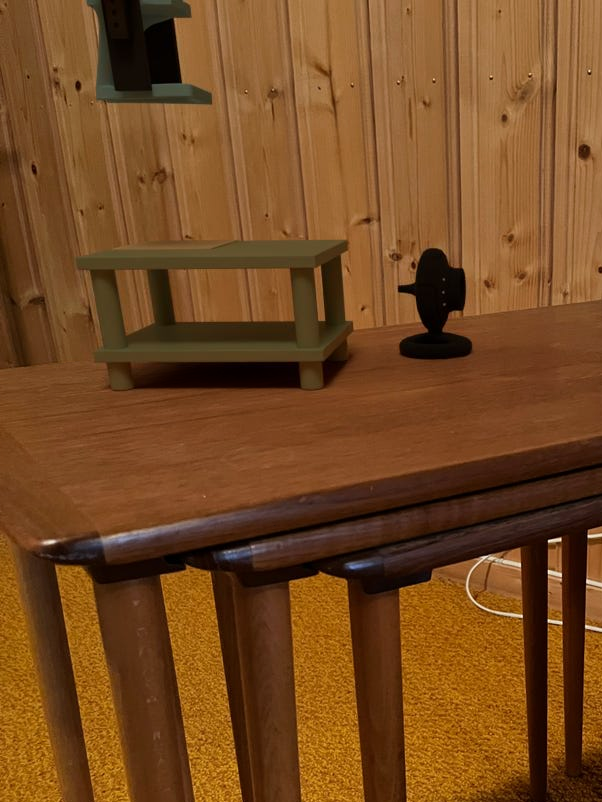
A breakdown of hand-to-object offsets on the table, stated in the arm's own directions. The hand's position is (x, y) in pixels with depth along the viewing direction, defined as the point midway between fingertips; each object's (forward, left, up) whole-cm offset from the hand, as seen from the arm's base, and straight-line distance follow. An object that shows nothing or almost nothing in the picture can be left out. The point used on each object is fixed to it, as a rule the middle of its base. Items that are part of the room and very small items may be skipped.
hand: (150, 92), depth 80 cm
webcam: (+22, +12, -23) cm, 34 cm away
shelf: (+4, +2, -23) cm, 23 cm away
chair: (0, 0, -1) cm, 1 cm away
